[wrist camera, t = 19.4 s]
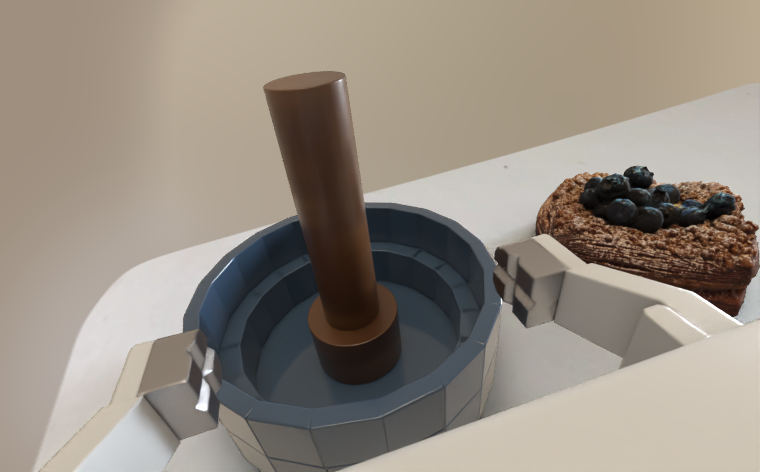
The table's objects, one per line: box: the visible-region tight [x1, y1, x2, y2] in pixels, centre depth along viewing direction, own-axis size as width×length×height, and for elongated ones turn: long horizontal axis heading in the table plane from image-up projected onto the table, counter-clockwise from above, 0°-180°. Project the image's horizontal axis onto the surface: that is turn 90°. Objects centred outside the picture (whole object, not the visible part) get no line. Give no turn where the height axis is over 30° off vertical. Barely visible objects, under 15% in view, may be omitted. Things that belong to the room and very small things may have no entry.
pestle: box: [263, 71, 402, 385], centre depth 16 cm, size 5×5×14 cm
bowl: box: [183, 203, 502, 472], centre depth 19 cm, size 14×14×6 cm
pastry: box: [536, 166, 760, 318], centre depth 24 cm, size 11×12×6 cm
